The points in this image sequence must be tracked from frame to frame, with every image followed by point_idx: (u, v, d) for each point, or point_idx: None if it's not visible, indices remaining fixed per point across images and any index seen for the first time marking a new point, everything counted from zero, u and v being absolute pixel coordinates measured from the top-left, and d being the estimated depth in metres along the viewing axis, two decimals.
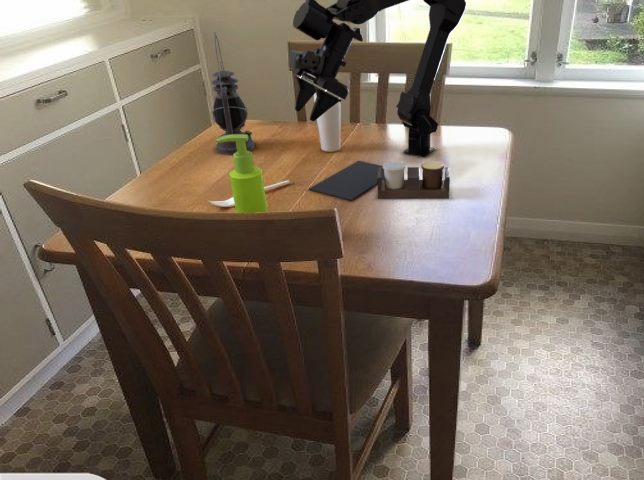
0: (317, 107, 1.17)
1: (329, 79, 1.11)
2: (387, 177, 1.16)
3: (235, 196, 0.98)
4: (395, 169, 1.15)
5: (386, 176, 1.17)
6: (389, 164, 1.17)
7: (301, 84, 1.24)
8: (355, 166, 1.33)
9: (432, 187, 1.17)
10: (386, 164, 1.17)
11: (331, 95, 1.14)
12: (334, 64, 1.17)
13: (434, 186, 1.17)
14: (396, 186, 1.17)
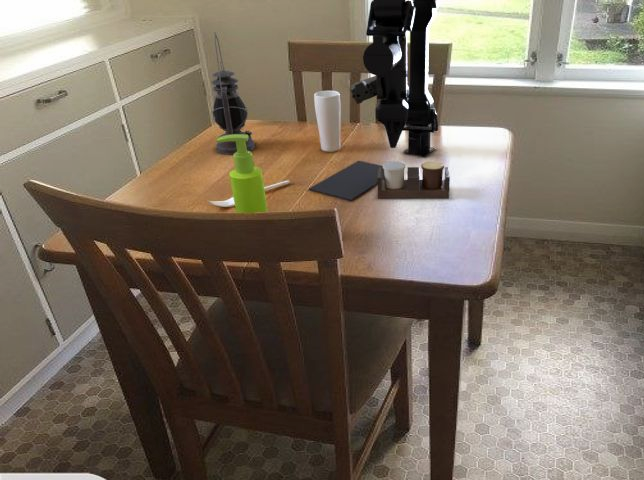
0: (390, 134, 1.07)
1: (379, 107, 1.01)
2: (387, 177, 1.16)
3: (235, 196, 0.98)
4: (395, 169, 1.15)
5: (386, 176, 1.17)
6: (389, 164, 1.17)
7: None
8: (355, 166, 1.33)
9: (432, 187, 1.17)
10: (386, 164, 1.17)
11: (392, 119, 1.03)
12: (393, 80, 1.05)
13: (434, 186, 1.17)
14: (396, 186, 1.17)
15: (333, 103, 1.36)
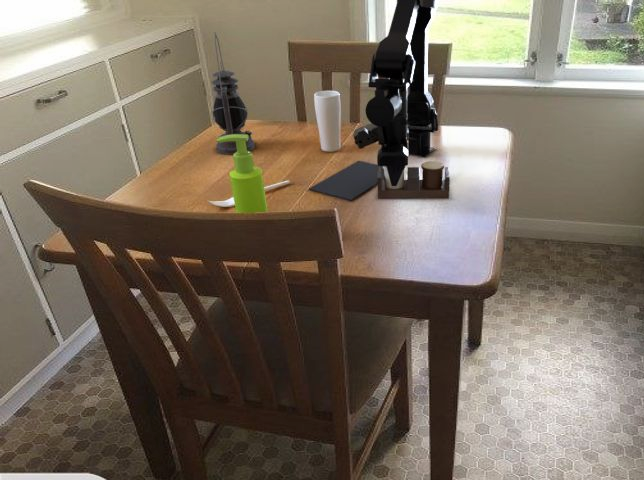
0: (391, 173, 1.14)
1: (380, 155, 1.06)
2: (387, 177, 1.16)
3: (235, 196, 0.98)
4: None
5: (386, 176, 1.17)
6: None
7: None
8: (355, 166, 1.33)
9: (432, 187, 1.17)
10: None
11: None
12: (394, 128, 1.09)
13: (434, 186, 1.17)
14: (396, 186, 1.17)
15: (333, 103, 1.36)
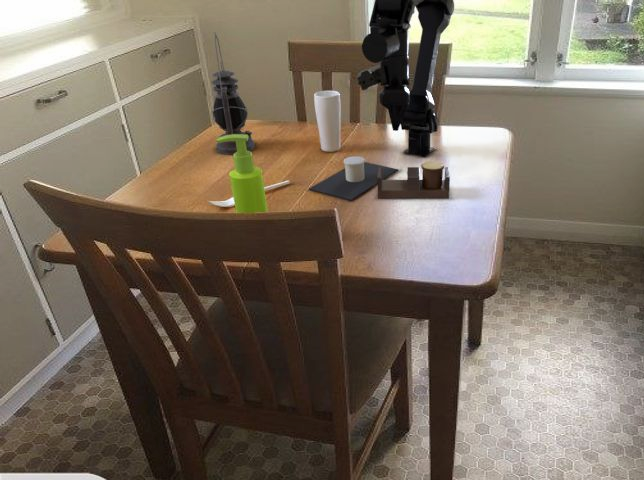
0: (393, 117, 1.18)
1: (383, 92, 1.12)
2: (347, 171, 1.24)
3: (235, 196, 0.98)
4: (354, 163, 1.22)
5: (347, 170, 1.24)
6: (349, 159, 1.25)
7: None
8: None
9: (432, 187, 1.17)
10: (347, 159, 1.25)
11: (394, 104, 1.14)
12: (396, 68, 1.15)
13: (434, 186, 1.17)
14: (356, 180, 1.25)
15: (333, 103, 1.36)
